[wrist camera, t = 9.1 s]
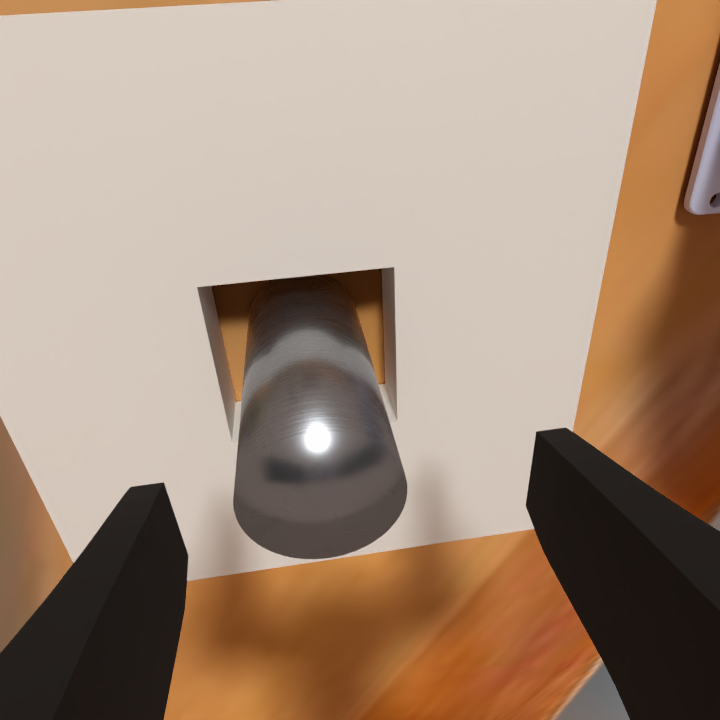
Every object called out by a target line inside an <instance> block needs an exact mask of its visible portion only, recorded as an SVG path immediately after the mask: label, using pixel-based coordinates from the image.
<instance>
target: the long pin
mask: <svg viewBox="0 0 720 720" xmlns="http://www.w3.org/2000/svg"><path fill="white" fill-rule="evenodd" d="M406 499H407V480H406V476H405V472H404V469H403V466H402V462H401V459H400V456H399V452H398V449H397V445H396V442H395V439H394V435H393V432H392V429H391V425H390V422H389V418H388V415H387V412H386V408H385V405H384V402H383V398H382V395H381V391H380V388H379V385H378V381H377V378H376V375H375V371H374V368H373V364H372V361H371V358H370V354H369V351H368V348H367V344H366V341H365V337H364V334H363V331H362V327H361V324H360V321H359V317H358V314H357V310H356V307H355V304H354V302H353V300H352V298H351V296H350V294H349V293H348V292H347V291H346V289H345V288H344V287H343V286H342V285H340V284H339V283H338V282H336V281H335V280H333V279H331V278H330V277H327V276H325V275H312V276H302V277H292V278H282V279H274V280H272V281H271V282H269V283H268V284H267V285H266V286H264V287H263V288H262V289H261V290H260V292H259V293H258V294H257V296H256V297H255V299H254V301H253V303H252V305H251V308H250V312H249V322H248V333H247V345H246V356H245V368H244V380H243V391H242V403H241V415H240V426H239V438H238V449H237V461H236V473H235V484H234V496H233V507H234V513H235V516H236V519H237V521H238V523H239V525H240V527H241V528H242V530H243V531H244V533H245V534H246V535H247V536H248V537H249V538H250V539H251V540H253V541H254V542H255V543H257V544H258V545H260V546H261V547H263V548H265V549H267V550H269V551H271V552H274V553H276V554H280V555H283V556H287V557H292V558H299V559H326V558H332V557H337V556H341V555H345V554H348V553H351V552H354V551H357V550H359V549H361V548H363V547H366V546H367V545H369V544H371V543H373V542H374V541H376V540H377V539H378V538H380V537H381V536H383V535H384V534H385V533H386V532H387V531H388V530H389V529H390V528H391V527H392V526H393V525H394V524H395V522H396V521H397V519H398V518H399V516H400V515H401V513H402V511H403V509H404V506H405V503H406Z"/></svg>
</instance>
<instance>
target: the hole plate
mask: <svg viewBox="0 0 720 720" xmlns="http://www.w3.org/2000/svg"><path fill="white" fill-rule="evenodd" d="M656 2H657V0H278V1H260V2H242V3H224V4H206V5H187V6H169V7H151V8H133V9H115V10H96V11H78V12H60V13H42V14H24V15H5V16H0V416H1V418H2V420H3V422H4V424H5V426H6V428H7V430H8V432H9V434H10V436H11V438H12V440H13V442H14V444H15V446H16V448H17V450H18V452H19V454H20V456H21V458H22V460H23V462H24V464H25V466H26V468H27V470H28V472H29V474H30V476H31V478H32V480H33V483H34V485H35V487H36V489H37V491H38V493H39V495H40V497H41V499H42V501H43V503H44V505H45V507H46V509H47V511H48V513H49V515H50V517H51V519H52V521H53V523H54V525H55V527H56V529H57V531H58V533H59V535H60V537H61V539H62V541H63V543H64V545H65V547H66V549H67V551H68V553H69V555H70V557H71V559H72V561H73V563H74V562H75V561H76V559H77V558H78V557H79V556H80V554H81V553H82V552H83V550H84V549H85V547H86V546H87V545H88V543H89V542H90V541H91V539H92V538H93V537H94V535H95V534H96V533H97V531H98V530H99V528H100V527H101V526H102V524H103V523H104V522H105V520H106V519H107V517H108V516H109V515H110V513H111V512H112V510H113V509H114V508H115V506H116V505H117V504H118V502H119V501H120V499H121V498H122V497H123V495H124V494H125V493H126V492H127V490H128V489H129V488H130V487H133V486H141V485H148V484H155V483H163V482H164V484H165V487H166V490H167V493H168V496H169V499H170V502H171V505H172V508H173V511H174V514H175V517H176V520H177V523H178V526H179V529H180V532H181V535H182V538H183V541H184V544H185V547H186V550H187V553H188V572H187V581H191V580H198V579H204V578H211V577H218V576H224V575H231V574H237V573H244V572H251V571H257V570H264V569H271V568H277V567H284V566H291V565H297V564H304V563H311V562H317V561H324V560H330V559H337V558H344V557H350V556H357V555H364V554H370V553H377V552H384V551H390V550H397V549H404V548H410V547H417V546H423V545H430V544H437V543H443V542H450V541H457V540H463V539H470V538H477V537H483V536H490V535H496V534H503V533H510V532H516V531H523V530H530V529H534V526H533V524H532V521H531V519H530V516H529V513H528V511H527V508H526V499H527V492H528V485H529V478H530V471H531V464H532V457H533V450H534V443H535V437H536V431H544V430H551V429H558V428H567V429H569V430H570V431H572V432H573V427H574V422H575V417H576V411H577V406H578V401H579V396H580V391H581V386H582V381H583V376H584V370H585V365H586V360H587V355H588V350H589V345H590V340H591V335H592V330H593V324H594V319H595V314H596V309H597V304H598V299H599V294H600V289H601V283H602V278H603V273H604V268H605V263H606V258H607V253H608V248H609V242H610V237H611V232H612V227H613V222H614V217H615V212H616V207H617V202H618V196H619V191H620V186H621V181H622V176H623V171H624V166H625V161H626V155H627V150H628V145H629V140H630V135H631V130H632V125H633V120H634V114H635V109H636V104H637V99H638V94H639V89H640V84H641V79H642V74H643V68H644V63H645V58H646V53H647V48H648V43H649V38H650V33H651V27H652V22H653V17H654V12H655V7H656ZM380 268H381V269H382V300H383V331H384V361H385V384H379V388H380V391H381V395H382V398H383V402H384V405H385V408H386V412H387V415H388V418H389V422H390V425H391V429H392V432H393V435H394V439H395V442H396V445H397V449H398V452H399V456H400V459H401V462H402V466H403V469H404V472H405V476H406V480H407V499H406V503H405V506H404V509H403V511H402V513H401V515H400V516H399V518H398V519H397V521H396V522H395V524H394V525H393V526H392V527H391V528H390V529H389V530H388V531H387V532H386V533H385V534H384V535H383V536H381V537H380V538H378V539H377V540H376V541H374V542H373V543H371V544H369V545H367V546H366V547H363V548H361V549H359V550H357V551H354V552H351V553H348V554H345V555H341V556H337V557H332V558H326V559H299V558H292V557H287V556H283V555H280V554H276V553H274V552H271V551H269V550H267V549H265V548H263V547H261V546H260V545H258V544H257V543H255V542H254V541H253V540H251V539H250V538H249V537H248V536H247V535H246V534H245V533H244V531H243V530H242V528H241V527H240V525H239V523H238V521H237V519H236V516H235V513H234V507H233V496H234V484H235V473H236V461H237V449H238V438H239V426H240V415H241V403H242V401H239V402H236V400H235V395H234V391H233V386H232V381H231V376H230V372H229V367H228V362H227V357H226V353H225V348H224V343H223V338H222V334H221V329H220V324H219V319H218V315H217V310H216V305H215V300H214V296H213V291H212V286H214V285H223V284H233V283H243V282H253V281H263V280H273V279H282V278H292V277H302V276H312V275H322V274H331V273H341V272H351V271H361V270H371V269H380Z"/></svg>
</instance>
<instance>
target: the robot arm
mask: <svg viewBox="0 0 720 720" xmlns="http://www.w3.org/2000/svg"><path fill="white" fill-rule="evenodd" d="M715 194H716V198H715V200H714V201H713V202H712V203H711V204H710V200H711V198H712V196H714V195H715ZM684 207H685V210H687V211H688V212H690V213H692V214H694V215H705V214H715V213H720V64H719V68H718V72H717V76H716V79H715V83H714V87H713V91H712V95H711V99H710V103H709V106H708V110H707V114H706V118H705V122H704V126H703V130H702V133H701V137H700V141H699V145H698V149H697V153H696V157H695V160H694V164H693V168H692V172H691V176H690V180H689V184H688V188H687V191H686V195H685V199H684ZM526 508H527V511H528V513H529V516H530V519H531V521H532V524H533V526H534V529H535V532H536V534H537V537H538V539H539V541H540V544H541V546H542V549H543V551H544V553H545V555H546V557H547V559H548V561H549V563H550V565H551V567H552V569H553V570H554V572H555V574H556V576H557V578H558V580H559V582H560V583H561V585H562V587H563V589H564V591H565V593H566V594H567V596H568V598H569V600H570V602H571V604H572V605H573V607H574V609H575V611H576V613H577V615H578V616H579V618H580V620H581V622H582V624H583V625H584V627H585V629H586V631H587V633H588V635H589V636H590V638H591V640H592V642H593V644H594V646H595V647H596V649H597V651H598V653H599V655H600V656H601V658H602V660H603V662H604V664H605V666H606V668H607V670H608V672H609V674H610V676H611V678H612V680H613V682H614V684H615V686H616V688H617V690H618V692H619V695H620V697H621V699H622V702H623V704H624V706H625V709H626V711H627V713H628V716H629V718H630V720H720V531H718V530H716V529H715V528H713V527H712V526H710V525H708V524H707V523H705V522H704V521H702V520H700V519H699V518H697V517H695V516H694V515H692V514H691V513H689V512H688V511H686V510H684V509H683V508H681V507H680V506H678V505H677V504H675V503H674V502H672V501H671V500H669V499H668V498H666V497H665V496H663V495H662V494H660V493H659V492H657V491H656V490H654V489H653V488H651V487H650V486H649V485H647V484H646V483H644V482H643V481H641V480H640V479H638V478H637V477H636V476H634V475H633V474H631V473H630V472H628V471H627V470H626V469H624V468H623V467H621V466H620V465H619V464H617V463H616V462H614V461H613V460H612V459H610V458H609V457H607V456H606V455H605V454H603V453H602V452H600V451H599V450H598V449H596V448H595V447H593V446H592V445H591V444H589V443H588V442H586V441H585V440H583V439H582V438H581V437H579V436H578V435H576V434H575V433H573V432H572V431H570V430H569V429H567V428H558V429H551V430H544V431H536V437H535V443H534V450H533V457H532V464H531V471H530V478H529V485H528V492H527V499H526ZM187 572H188V553H187V550H186V547H185V544H184V541H183V538H182V535H181V532H180V529H179V526H178V523H177V520H176V517H175V514H174V511H173V508H172V505H171V502H170V499H169V496H168V493H167V490H166V487H165V484H164V482H163V483H155V484H148V485H141V486H133V487H130V488H129V489H128V490H127V492H126V493H125V494H124V495H123V497H122V498H121V499H120V501H119V502H118V504H117V505H116V506H115V508H114V509H113V510H112V512H111V513H110V515H109V516H108V517H107V519H106V520H105V522H104V523H103V524H102V526H101V527H100V528H99V530H98V531H97V533H96V534H95V535H94V537H93V538H92V539H91V541H90V542H89V543H88V545H87V546H86V547H85V549H84V550H83V552H82V553H81V554H80V556H79V557H78V558H77V559H76V561H75V562H74V563H73V565H72V566H71V567H70V569H69V570H68V571H67V572H66V574H65V575H64V576H63V578H62V579H61V580H60V582H59V583H58V584H57V585H56V587H55V588H54V589H53V591H52V592H51V593H50V594H49V596H48V597H47V598H46V599H45V601H44V602H43V603H42V604H41V605H40V607H39V608H38V609H37V610H36V611H35V613H34V614H33V615H32V616H31V617H30V619H29V620H28V621H27V622H26V623H25V625H24V626H23V627H22V628H21V629H20V631H19V632H18V633H17V634H16V635H15V637H14V638H13V639H12V640H11V641H10V643H9V644H8V645H7V646H6V647H5V648H4V650H3V651H2V652H1V653H0V720H163V719H164V714H165V709H166V704H167V699H168V694H169V689H170V683H171V678H172V673H173V668H174V663H175V658H176V653H177V647H178V642H179V637H180V632H181V626H182V621H183V615H184V610H185V599H186V587H187Z"/></svg>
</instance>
